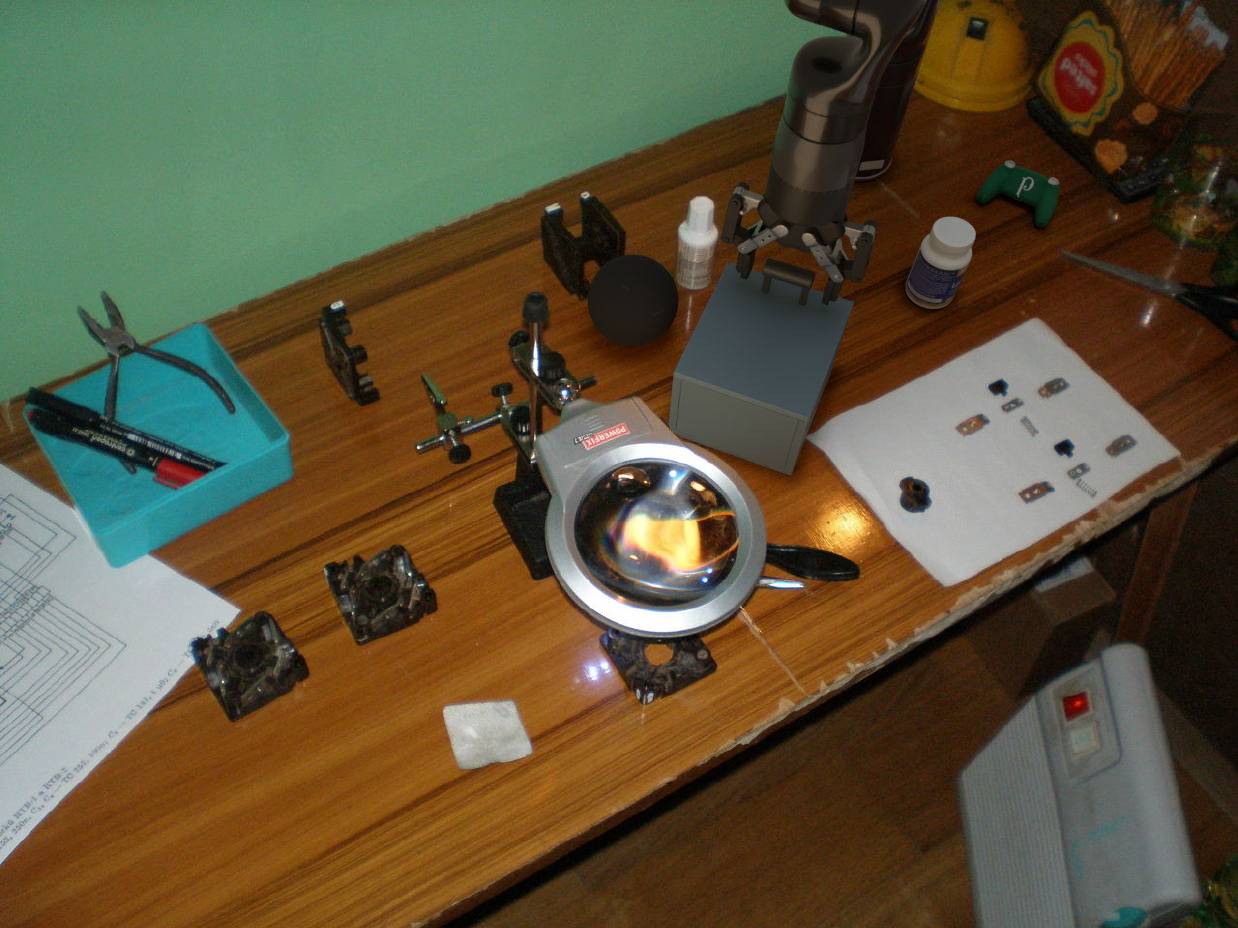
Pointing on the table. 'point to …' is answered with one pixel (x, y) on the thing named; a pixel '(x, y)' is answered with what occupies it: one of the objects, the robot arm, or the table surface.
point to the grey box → (739, 425)
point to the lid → (766, 339)
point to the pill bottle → (941, 263)
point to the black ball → (633, 300)
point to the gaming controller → (1023, 189)
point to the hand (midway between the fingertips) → (786, 286)
